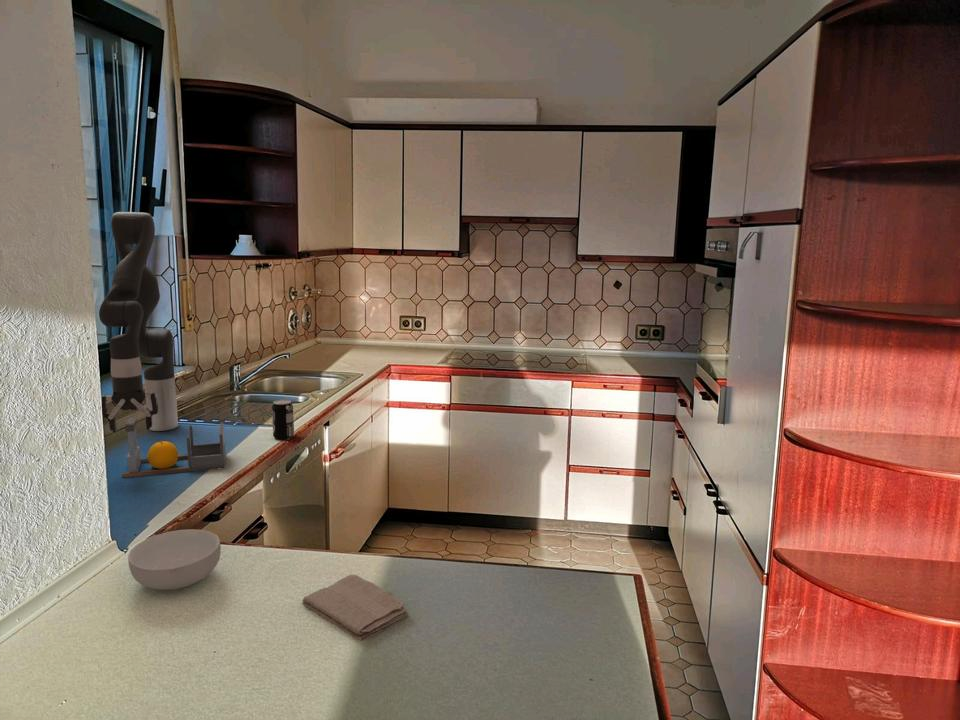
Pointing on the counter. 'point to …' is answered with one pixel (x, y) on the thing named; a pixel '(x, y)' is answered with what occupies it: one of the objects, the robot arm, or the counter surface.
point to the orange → (162, 455)
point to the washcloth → (356, 606)
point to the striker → (133, 446)
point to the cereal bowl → (174, 558)
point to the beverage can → (283, 419)
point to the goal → (206, 453)
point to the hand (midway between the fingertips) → (131, 430)
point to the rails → (154, 472)
